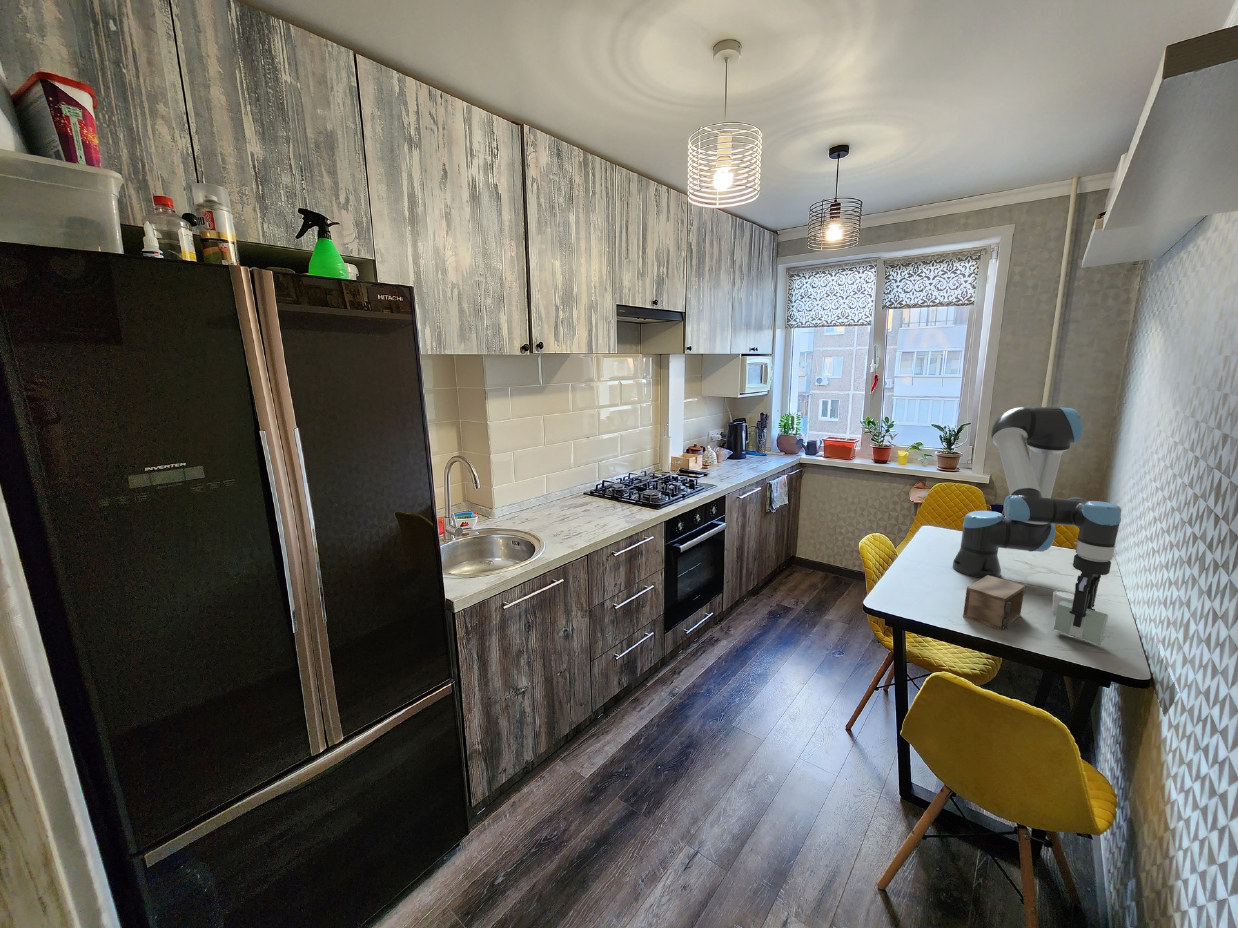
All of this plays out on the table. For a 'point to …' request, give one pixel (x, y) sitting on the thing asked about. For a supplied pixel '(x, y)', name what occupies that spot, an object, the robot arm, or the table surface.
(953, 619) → the table surface
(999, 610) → the cabinet
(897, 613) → the table surface
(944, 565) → the table surface
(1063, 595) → the shot glass
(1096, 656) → the table surface
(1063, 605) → the pale green rectangular block
